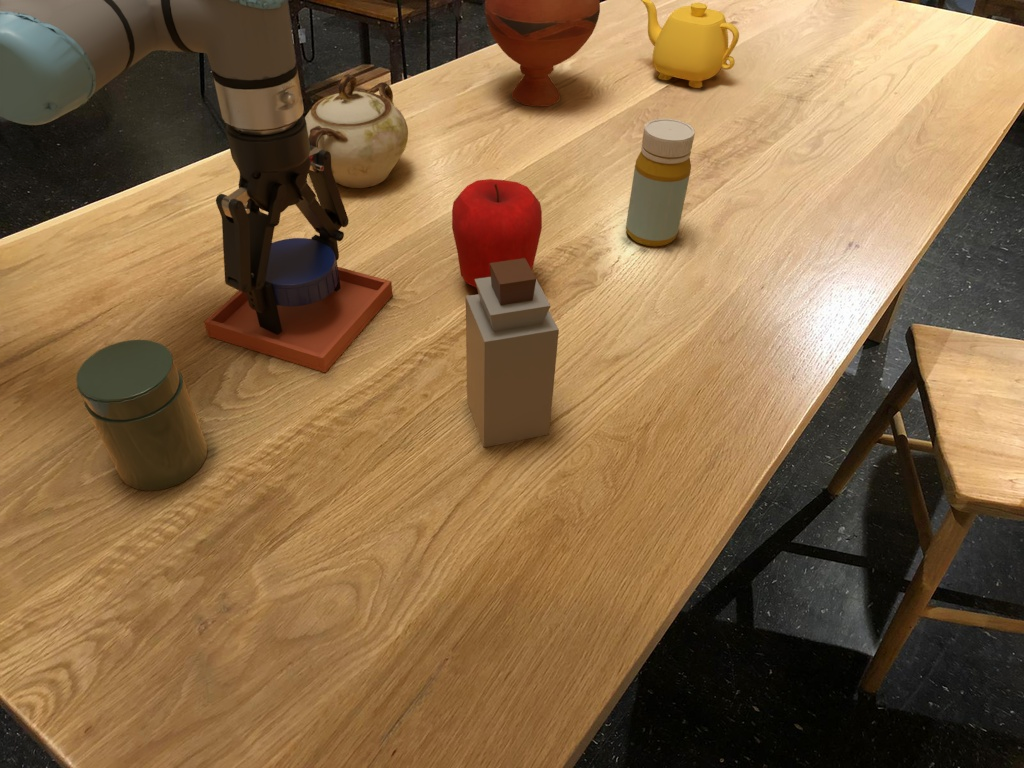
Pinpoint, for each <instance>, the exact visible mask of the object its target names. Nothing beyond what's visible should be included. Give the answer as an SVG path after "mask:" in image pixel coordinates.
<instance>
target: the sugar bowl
mask: <svg viewBox="0 0 1024 768" xmlns="http://www.w3.org/2000/svg"><path fill="white" fill-rule="evenodd" d="M357 84H358V83H357V78H356V76H354V75H352V74H349V73H347V74H345V75H343V76H342V78H341V80H340V82H339V85H338V92H337V93H336V92H335V93H332V94H329V95H327V96H324V97H322V98H320V99H318V100H317V101H316V102H315V103H314V104H313V105H312V106H311V109H309V111H308V112H307V114H306V115H305V116H304V118H305V120H306V124H307V131H308V137H309V144H310V145H311V146H314V147H317V148H320V149H323V150H325V151H328V152H330V154H331V167H332V173H333V176H334V179H335V182H336V184H339V186H340V185H341V186H342V187H346V188H351V189H366V188H369V187H373V186H377V185H379V184H381V183H383V182H384V181H385V180H386V179H387V178H388V177H389V175H390V173H391V172H392V171H393V168H395V166H396V165H397V163H398V162H399V160H400V159H401V156H402V155H403V154H404V151H405V149H406V147H407V144H408V140H409V139H408V138H409V128H408V124H407V121H406V118H405V117H404V115H403V113H402V112H401V110H400V109H399V108H397V107H396V106H395V104H394V102H393V100H394V94H393V90H392V87H391V86H390V85H389V84H388V83H386V82H383V81H381V82H379V83H377V84H375V86H373V87H371V88H370V89H368V90H367V91H355V90H356V86H357ZM378 93H379V94H378Z"/></svg>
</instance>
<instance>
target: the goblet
mask: <svg viewBox="0 0 1024 768" xmlns="http://www.w3.org/2000/svg"><path fill="white" fill-rule="evenodd" d="M484 11H485V12H484V14H485V19H486V20H485V21H486V24H487V27H488V30H489V33H490V35H491V37H492V39H493V40H494V41H495V43H496V45H498V47H499V48H500V49H501V51H502V52H503V53H504V54H505V55H506V56H507V57H508V58H510V59H511V60H512V61H514V62H515V63H516V64H518V65H519V71H520V73H521V74H522V75H523V76H522V78H521V79H520V80H519V82H518V81H517V84H515V87H514V88H513V90H512V91H511V97H512V99H513V100H514V101H515V102H517V103H519V104H520V105H524V106H528V107H529V106H530V107H538V108H539V107H540V108H541V107H549V106H552V105H554V104H558V102H559V101H560V98H561V94H560V91H559V89H558V87H557V86H556V85H555V82H553V80H552V78H551V76H550V75H551V74H552V73H553V72H554V70H555V68H554V67H555V66H558V65H559V64H562V63H563V62H565V61H567V60H569V59H570V58H572V57H573V56H574V55H575V54H577V53H578V52H579V51H580V50H581V49H582V48H583V46H584V45H585V44H586V43H587V42H588V40H589V39H590V38H591V36H592V35H593V33H594V31H595V29H596V27H597V24H598V21H599V17H600V14H601V0H484Z"/></svg>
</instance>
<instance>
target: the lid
mask: <svg viewBox="0 0 1024 768" xmlns="http://www.w3.org/2000/svg"><path fill="white" fill-rule="evenodd" d="M337 266H338V260H337V261H336V260H335V254H334V252H333V250H332V249H331V248H330V247H329V246H328V245H326V244H324V243H322V242H320V241H317V240H313V239H312V238H307V237H293V238H292V237H291V238H285V239H280V240H277V241H272V244H271V250H270V256H269V262H268V268H267V274H266V279H265V281H267V282H269V283H271V284H272V287H273V291H274V296H275V300H276V305H279V306H288V307H293V306H303V305H308V304H311V303H314V302H317V301H319V300H321V299H323V298H325V297H327V296H328V295H329V294H330V293H332V291H333V290H334V289H335V288H336V286H337V283H338V276H339V275H338V268H337ZM252 274H253V273H252Z"/></svg>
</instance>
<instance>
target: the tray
mask: <svg viewBox="0 0 1024 768" xmlns="http://www.w3.org/2000/svg"><path fill="white" fill-rule="evenodd" d="M338 273H339V280H340V287H341V289H339V290H338V291H337V292H336V291H334V290H333V291H332V293H330V294H329V295H328V296H327V297H325V298H323V299H321V300H319V301H317V302H314V303H311V304H308V305H303V306H293V307H288V306H279V305H277V309H278V314H279V318H280V323H281V327H282V332H281V333H280V334H278V335H276V334H274V333H272V332H270V331H268V330H266V329H264V328H262V327H260V325H259V321H258V317H257V313H256V311H255V310H253V309H251V307H250V306H249V302H248V298H247V294H246V293H244V292H241V291H239V290H237V292H235V294H233V295H232V296H231V297H230V298H229V299H228V300H226V301H225V303H223V304H222V305H221V306H219V308H218V309H217V310H215V311H214V312H213V313H212V314H210V315H209V317H207V318H206V319H205V320H204V321H203V324H204V327H205V330H206V334H207V337H209V338H213V339H215V340H219V341H221V342H226V343H227V344H228V343H229V344H232V345H236V346H238V347H241V348H243V349H247V350H251V351H255V352H258V353H260V354H261V353H262V354H264V355H267V356H270V357H273V358H277V359H280V360H284V361H286V362H289V363H293V364H296V365H299V366H303V367H306V368H309V369H313V370H316V371H319V372H322V373H327V372H328V370H329V369H330V368H331V367H332V366H333V365H334V363H336V361H337V360H338V359H339V358H340V357H341V355H342V354H343V353H344V352H345V351H346V349H348V347H349V346H350V345H351V344H352V343H353V342H354V340H355V339H356V338H357V337H358V336H359V335H360V334H361V332H362V331H363V330H364V329H365V328H366V327H367V325H369V323H370V322H371V321H372V320H373V319H374V317H375V316H377V314H378V313H379V312H380V310H381V309H382V308H383V307H384V306H385V305H386V303H387V302H389V300H390V299H391V298H392V297H393V295H394V293H393V285H392V281H391V280H388V279H385V278H381V277H377V276H373V275H369V274H366V273H362V272H359V271H355V270H351V269H347V268H345V267H340V266H338Z"/></svg>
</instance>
